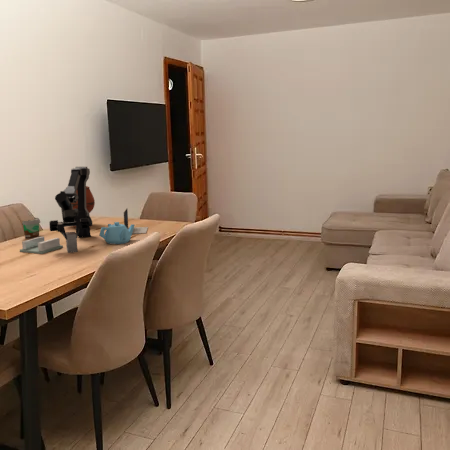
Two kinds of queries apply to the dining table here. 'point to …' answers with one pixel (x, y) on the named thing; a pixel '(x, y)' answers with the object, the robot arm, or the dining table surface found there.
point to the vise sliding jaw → (32, 242)
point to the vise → (44, 246)
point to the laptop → (136, 229)
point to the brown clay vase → (89, 201)
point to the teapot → (116, 233)
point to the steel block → (71, 242)
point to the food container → (31, 228)
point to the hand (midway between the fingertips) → (71, 238)
